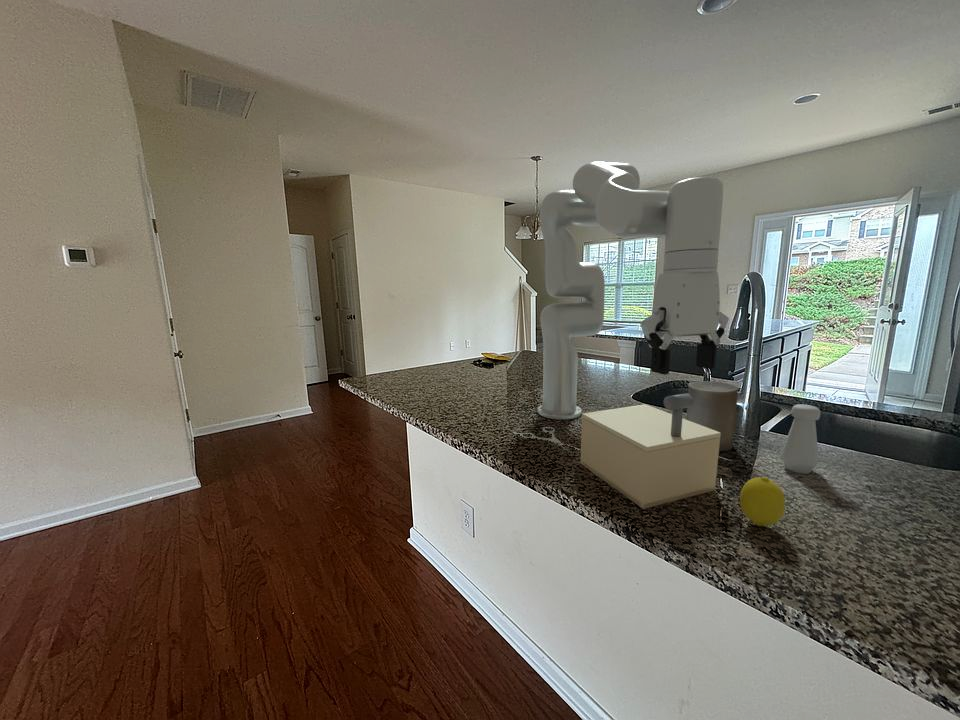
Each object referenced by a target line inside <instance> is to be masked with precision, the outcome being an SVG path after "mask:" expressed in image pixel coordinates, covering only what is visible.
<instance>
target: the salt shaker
mask: <svg viewBox="0 0 960 720" xmlns="http://www.w3.org/2000/svg"><path fill="white" fill-rule="evenodd" d="M790 411H791V416H792V417H794V418H793V421H792V424H791V427H790V429H789V431H788V434H787V437H786V439H785V442H784V445H783V447H782V450H781V452H780V459H781V460H782V463H783V465H784V466H785V469H786V470H789V471H790V472H793V473H796V474H803V475H804V474H805V475H807V474H810V473H812V471H813V470H814V469H815V468H816V467H817V466H818V464H819V461H820V459H819V450H818V449H819V448H818V436H817V426H816V425H817V423H816V421H819V420H820V418H821V413H822V412H821V410H820V409H819V407H817V406H814V405H809V404H801V403H799V404H797V403H796V404H795V405H793V406H792V408H791V410H790Z"/></svg>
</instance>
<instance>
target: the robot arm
mask: <svg viewBox="0 0 960 720" xmlns="http://www.w3.org/2000/svg"><path fill="white" fill-rule="evenodd" d="M640 183H641V178H640V173H639V171H638V169H637V168H636V167H635V166H633V165H632V164H630V163H624V162H610V161H608V162H605V161H593V162H592V161H591V162H588V163H585V164H584V165H582V166H581V167H580V168H578V169H577V171H576V172H575V173H574V175H573V179H572V188H573V189H570V190H569V189H565V190H564V189H563V190H556V191H555V190H554V191H552V192H549V193H548V194H547V195H546V196H544V198H543V199H542V202H541V204H540V205H541V206H540V211H539V224H540V229H541V233H542V237H543V242H544V246H545V248H544V249H545V259H544V260H545V263H544V264H545V265H544V266H545V289H546V292H547V294H548V295H549V296H550V297H552V298H559V299H567V298H569V299H570V298H581V301H580V302H555V303H551V304H549V305H548V304H547V306H545V307H544V308H543V309H542V310H541V312H540V317H539V320H540V322H539V323H540V329H541V337H542V348H543V349H542V350H543V351H542V352H543V353H542V356H543V357H542V359H543V361H542V362H543V366H542V367H543V368H542V369H543V372H542V374H543V375H542V394H541V395H540V396H539V397H540V399H541V400H542V404H540V405H539V406H538V407H537V414H539V415H540V416H541V417H543V418H547V419H552V420H572V419H577V418H579V417H580V416H582V414H583V411H582V408H581V407H580V406H578V405H577V395H578V393H577V391H578V362H579V361H578V358H579V357H578V351H577V348H576V346H575V345H574V344H573V342H572V341H571V338H575V337H591V336H592V337H593V336H596V335H598V334H599V333H600V332H601V330H602V329H603V327H604V322H605V321H604V320H605V293H606V291H605V289H606V288H605V286H606V285H605V284H606V282H605V275H604V272H603V269H602V268H601V266H600V265H598V264H597V263H594V262H590V261H589V262H587V261H586V262H585V261H584V262H583V261H582V262H580V261H579V260H578V248H579V247H578V242H577V240H576V238H575V237H574V235H573V233H572V232H571V231H570V230H569V229H568V227H592V228H593V227H595V228H596V227H597V228H598V227H603V228H604V229H605V230H607V231H608V232H610V233H612V234H613V235H616V236H619V237H623V238H653V239H658V238H659V239H660V238H663V239H664V254H663V255H664V256H663V271H662V273H659V275H658V277H657V278H658V279H657V280H656V285H655V289H654V292H653V293H654V294H653V300H652V309H651V314H650V315H649V316H648V317H646V318H644V319H643V320H642V321H641V322H640V328H641V330H642V333H643V338H644V339H645V341H646V342H647V343H648V347H649V348H650V349H651V361H650V362H651V365H650V371H651V372H652V373H655V374H660V375H668V374H670V362H671V361H670V359H671V349H670V348H669V349H668V347H669V345H670V344H671V342H672V341H673V340H674V339H675V337H676V338H679V337H680V338H681V337H693V336H694V337H695V336H697V338H698V340H699V341H700V342H698V343H697V346H696V359H695V366H696V367H697V368H698V367H699V368H703V369H709V370H714V369H715V368H716V360H717V359H716V358H717V357H716V356H717V349H718V348H717V346H718V345H719V344H720V342H721V338H722V337H723V335H724V334H725V329H726V328H727V325H728V322H729V317H728V316H727V315H726V314H724V313H723V312H721V310H720V309H721V308H720V307H721V306H720V305H721V304H720V301H721V298H720V297H721V296H720V294H721V293H720V291H721V290H720V279H719V271H718V263H719V249H720V236H721V225H722V213H723V211H722V210H723V198H724V185H723V182H722V180H721V179H719V178H717V177H714V176H698V177H697V176H696V177H692V178H691V177H690V178H686V179H683V180H680V181H677V182H676V183H674V184H673V185H671V187H670V188H669V190H666V191H665V190H650V189H649V190H646V189H643V190H642V189H640V185H641V184H640Z"/></svg>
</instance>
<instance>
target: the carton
mask: <svg viewBox="0 0 960 720" xmlns="http://www.w3.org/2000/svg"><path fill="white" fill-rule="evenodd" d="M580 440H581V441H580V450H581V451H580V465H582V466H583V467H585V468H586V469H587V468H588V469H587V470H589V471H590V472H591V473H593V474H594V475H596V476H597V477H598V478H600V479H601V480H602V481H604V482H605V483H607V484H608V485H610V486H611V487H612V488H613V489H615V490H617V491H618V492H619V493H621V494H622V495H623V496H624V497H626V498H628V499H629V500H630V501H631V502H633V503H634V504H636V505H637V506H639V507H640V508H641V509H642V510H644V509H648V508H652V507H656V506H659V505H663V504H668V503H672V502H675V501H678V500H682V499H686V498H691V497H694V496H699V495H702V494H706V493H710V492H714V491H715V490H716V484H717V483H716V482H717V472H718V463H719V454H720V451H719V445H720V437H718V438H713V439H708V440H703V441H698V442H693V443H688V444H683V445H678V446H673V447H668V448H663V449H658V450H653V451H648V452H646V451H644V450H643V449H641V448H639V447H637V446H635V445H633V444H631V443H629V442H627V441H626V440H624V439H622V438H620V437H618V436H616V435H614V434H612V433H610V432H609V431H607V430H605V429H603V428H601V427H599V426H597V425H595V424H594V423H592V422H590V421H588V420H586V419H584V418H582V417H581V438H580Z"/></svg>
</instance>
